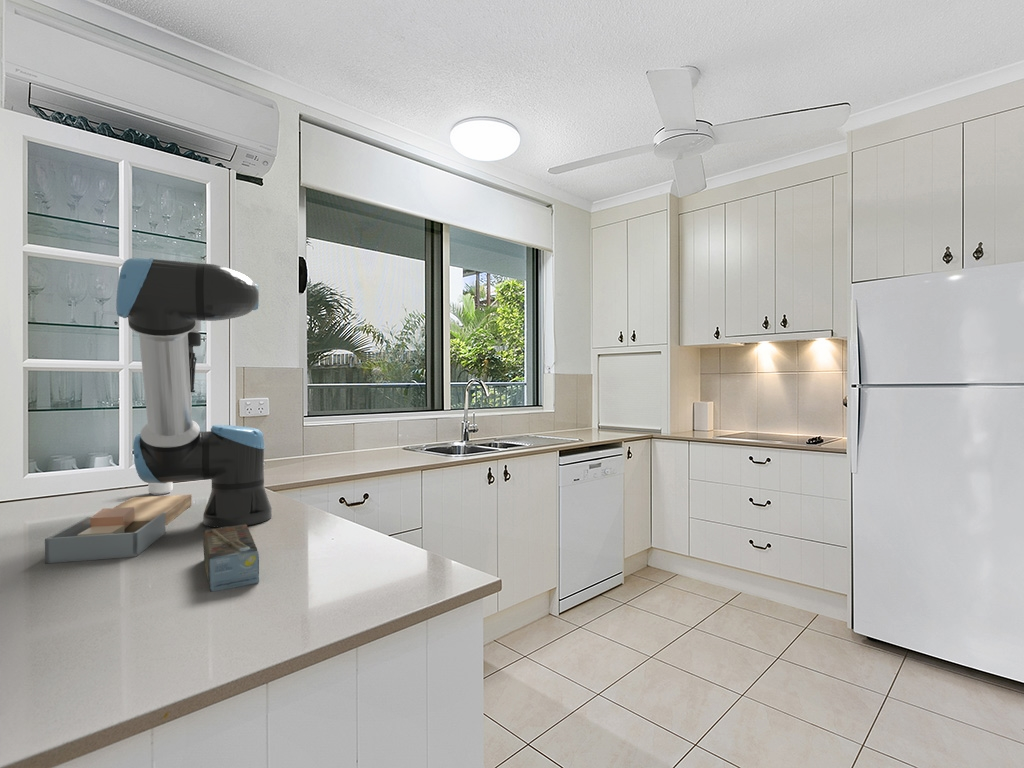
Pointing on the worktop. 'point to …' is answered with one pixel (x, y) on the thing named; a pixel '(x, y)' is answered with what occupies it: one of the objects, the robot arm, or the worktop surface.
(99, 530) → the sand tile
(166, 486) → the beverage can
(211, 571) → the beverage carton
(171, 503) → the oak board
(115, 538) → the tray
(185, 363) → the robot arm
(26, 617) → the worktop surface
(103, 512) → the terracotta tile
